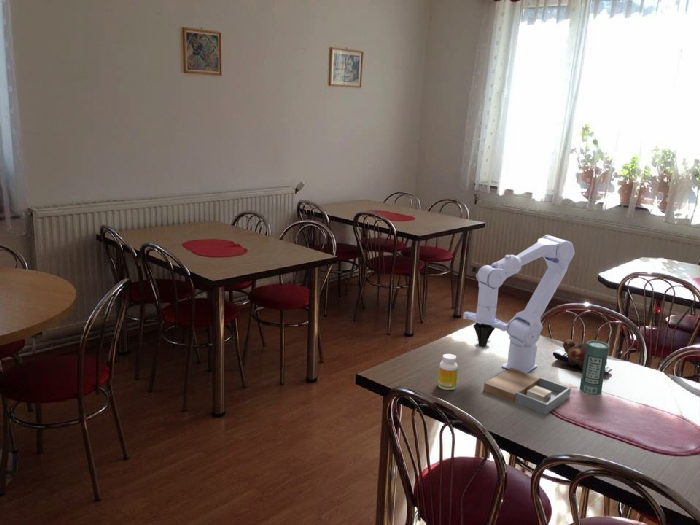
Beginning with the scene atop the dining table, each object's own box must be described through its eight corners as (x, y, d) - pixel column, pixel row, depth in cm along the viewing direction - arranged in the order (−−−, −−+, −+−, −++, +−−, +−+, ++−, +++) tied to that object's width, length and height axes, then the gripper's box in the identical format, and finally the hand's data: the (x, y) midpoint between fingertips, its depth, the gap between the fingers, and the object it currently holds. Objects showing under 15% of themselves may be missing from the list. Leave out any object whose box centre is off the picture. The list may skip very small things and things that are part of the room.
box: (539, 386, 189) (540, 377, 188) (569, 397, 183) (570, 387, 182) (514, 402, 178) (515, 392, 178) (545, 414, 172) (547, 404, 171)
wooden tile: (534, 391, 185) (535, 385, 184) (550, 397, 181) (551, 391, 181) (526, 396, 181) (527, 390, 180) (542, 403, 178) (543, 396, 177)
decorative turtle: (566, 356, 213) (570, 334, 211) (610, 370, 203) (614, 347, 201) (553, 363, 206) (556, 341, 204) (598, 379, 196) (602, 355, 194)
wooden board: (510, 374, 196) (511, 367, 195) (539, 385, 189) (540, 378, 189) (483, 390, 185) (484, 382, 184) (513, 402, 178) (514, 394, 177)
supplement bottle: (455, 391, 183) (458, 361, 181) (437, 389, 184) (439, 358, 181) (456, 383, 188) (459, 353, 186) (438, 381, 189) (441, 351, 187)
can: (601, 388, 190) (609, 343, 186) (600, 396, 184) (608, 349, 180) (580, 384, 192) (587, 338, 188) (578, 392, 187) (586, 345, 183)
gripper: (459, 301, 191) (455, 342, 195) (501, 314, 182) (496, 356, 185) (472, 296, 196) (467, 337, 200) (513, 308, 187) (508, 350, 191)
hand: (482, 346), depth 193 cm, fingers closed
